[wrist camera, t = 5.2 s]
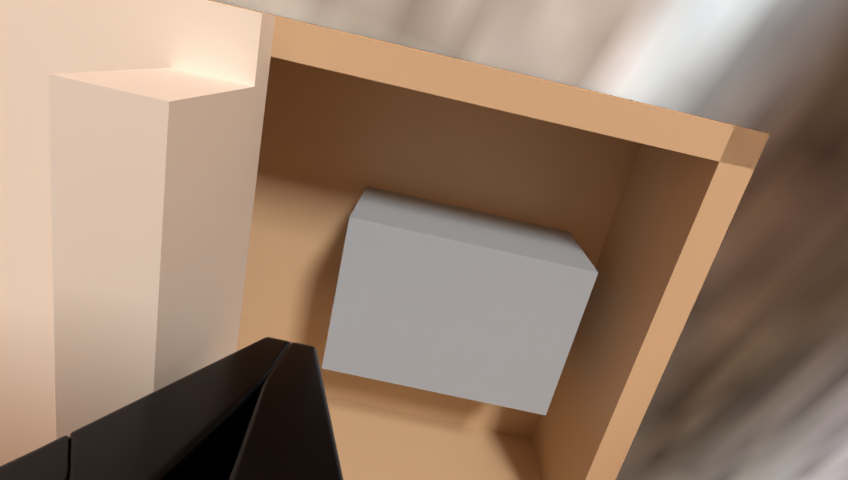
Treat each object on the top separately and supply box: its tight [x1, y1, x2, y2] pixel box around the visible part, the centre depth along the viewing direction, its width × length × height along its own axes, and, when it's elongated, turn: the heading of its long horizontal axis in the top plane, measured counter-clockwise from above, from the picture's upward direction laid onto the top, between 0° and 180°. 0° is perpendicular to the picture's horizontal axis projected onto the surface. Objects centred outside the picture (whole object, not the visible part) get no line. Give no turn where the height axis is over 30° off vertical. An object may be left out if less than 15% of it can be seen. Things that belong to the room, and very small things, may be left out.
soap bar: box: [322, 186, 598, 415], centre depth 12 cm, size 5×4×2 cm
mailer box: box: [209, 0, 770, 480], centre depth 12 cm, size 14×10×4 cm
